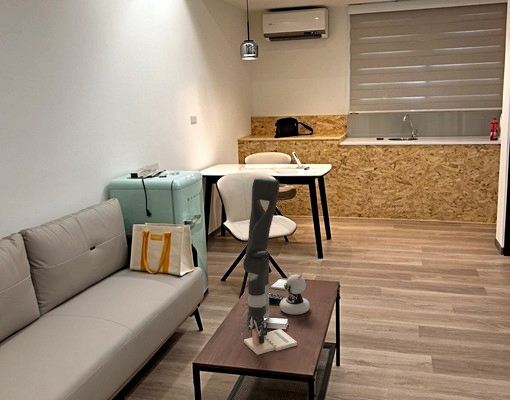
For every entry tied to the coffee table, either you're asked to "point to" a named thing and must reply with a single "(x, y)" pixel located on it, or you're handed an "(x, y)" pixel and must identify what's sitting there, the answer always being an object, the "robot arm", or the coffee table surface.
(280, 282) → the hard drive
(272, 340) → the board
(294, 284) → the decorative figurine
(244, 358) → the coffee table surface
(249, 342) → the block on cream base
